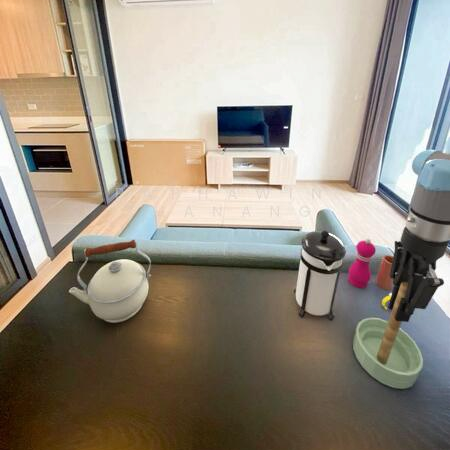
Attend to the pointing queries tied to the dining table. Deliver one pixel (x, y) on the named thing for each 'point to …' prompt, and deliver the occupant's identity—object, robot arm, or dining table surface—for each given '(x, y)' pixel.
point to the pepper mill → (362, 264)
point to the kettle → (115, 285)
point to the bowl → (398, 360)
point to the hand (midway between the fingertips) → (397, 314)
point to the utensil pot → (385, 273)
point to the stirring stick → (391, 328)
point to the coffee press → (319, 273)
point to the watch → (386, 300)
